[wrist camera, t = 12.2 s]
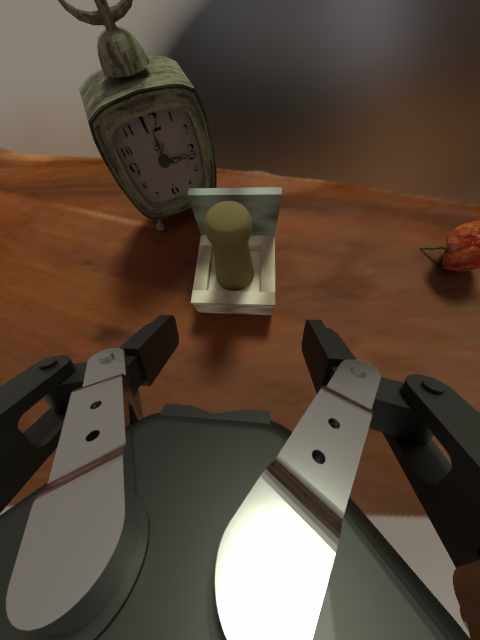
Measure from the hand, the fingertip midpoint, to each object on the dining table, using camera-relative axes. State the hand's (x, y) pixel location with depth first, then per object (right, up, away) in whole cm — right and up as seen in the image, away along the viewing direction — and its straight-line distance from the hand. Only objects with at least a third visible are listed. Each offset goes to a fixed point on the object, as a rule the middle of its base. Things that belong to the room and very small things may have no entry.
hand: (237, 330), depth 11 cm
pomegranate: (+35, +11, +20) cm, 41 cm away
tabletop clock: (-11, +23, +26) cm, 37 cm away
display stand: (0, +7, +20) cm, 22 cm away
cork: (-1, +8, +17) cm, 19 cm away
